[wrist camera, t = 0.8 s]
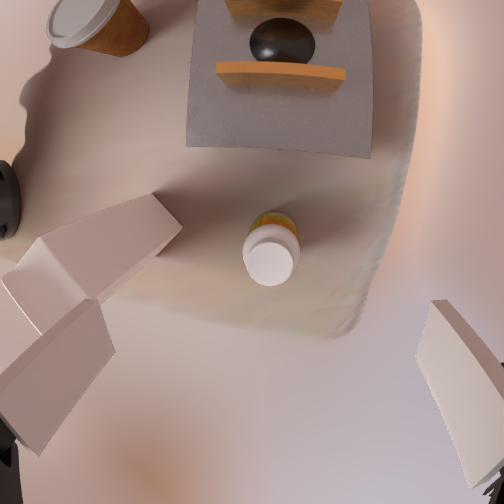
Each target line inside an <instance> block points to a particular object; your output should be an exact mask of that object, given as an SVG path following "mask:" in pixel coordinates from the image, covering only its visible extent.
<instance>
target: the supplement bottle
mask: <svg viewBox="0 0 504 504" xmlns="http://www.w3.org/2000/svg"><path fill="white" fill-rule="evenodd" d="M299 258H300V246H299V240H298V234H297V229H296V226H295V224H294V222H293V221H292V220H291V219H290V218H289V217H288V216H287V215H285V214H283V213H280V212H267V213H264V214H262V215H261V216H259V217H258V218H257V219H256V220H255V221H254V223H253V224H252V226H251V229H250V231H249V233H248V235H247V238H246V240H245V242H244V245H243V259H244V262H245V265H246V266H247V270H248V273H249V275H250V276H251V277H252V278H253V279H254V280H255V281H256V282H258V283H260V284H262V285H265V286H275V285H279V284H281V283H283V282H285V281H286V280H287V279H288V278H289V277H290V275H291V273H292V271H293V270H294V269H295V268H296V266H297V264H298V262H299Z"/></svg>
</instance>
